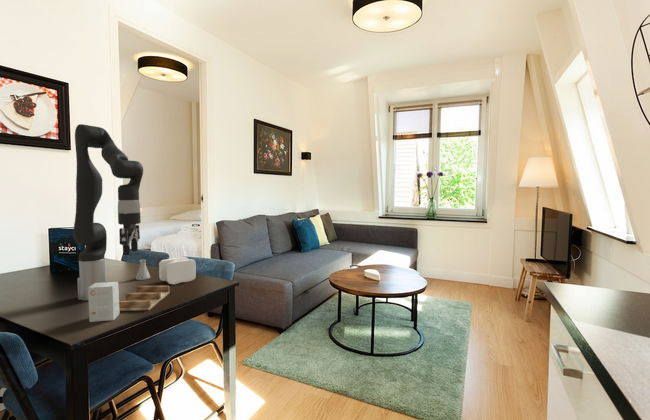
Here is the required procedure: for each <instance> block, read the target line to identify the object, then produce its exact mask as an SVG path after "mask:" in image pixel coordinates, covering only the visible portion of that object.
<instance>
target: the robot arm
mask: <svg viewBox="0 0 650 420" xmlns="http://www.w3.org/2000/svg"><path fill="white" fill-rule="evenodd" d="M74 144H75V153H76V154H75V156H76V158H75V159H76V174H75V176H76V179H75V193H76V196H75V197H76V198H75V201H76V202H75V214H74V215H75V217H74V225H73V233H72V235H73V240H74V241H75V243H76V244H77V245H78V246H83V247H84V248H83V250H82V251H81V252H80V253H79V255H78V267H79V271H78V272H79V276H78V278H77V299H78V300H79V301H88V302H89V300H88V287H90V286H91V285H93V284H95V283H105V282H106V264H105V263H106V261H105V254H106V252H107V245H108V244H107V237H108V236H107V228H105V226H104V225H103V224H102V223H100V222H94V221H95V220H94V216H95V215H94V214H95V211H96V209H97V206H98V204H99V203H100V200H101V198H102V196H103V177H102V175H101V174H100V172H99V170H98V169H97V168H96V166H95V164H94V163H93V161H92V160H91V158H90V153H89V148H92V149H101V151H100V152H101V157H102V159H103V160H104V161H105V162H106V164H108V165H109V167H110V170H111V174H112V176H114V177H115V178H118V179H129V182H128V183H126V184H120V185H119V186H118V187H117V197H118V198H117V200H118V201H117V223H118V225H122V226H123V227H122V228H119V231H118V232H119V244H120V245H121V246H122V255H123V256H130V254H131V252H138V250H139V246H138V243H139V240H141V237H140V224H141V220H142V219H141V218H142V217H141V204H140V186H141V183H142V179H143V175H144V166H143V164H142V163H141V162H140V161H137V160H129V157H128V156H127V154H125V153H124V152H123V151H122V150H121V149H120V148H119V147H117V145H116V143H115V141H114V140H113V139H112V137H111V135H110V133H109V132H108V131H107V130H106V129H105V128H103V127H99V126H94V125H89V124H85V123H84V124H81V123H80V124H77V125H76V127H75V131H74Z"/></svg>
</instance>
